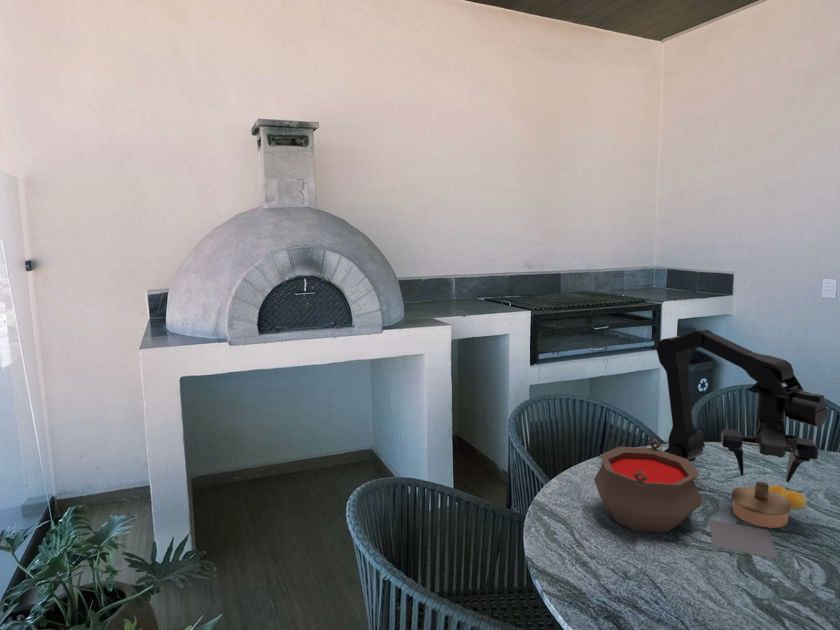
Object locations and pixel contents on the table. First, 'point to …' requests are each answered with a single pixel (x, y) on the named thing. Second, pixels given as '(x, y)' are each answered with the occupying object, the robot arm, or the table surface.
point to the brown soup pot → (647, 487)
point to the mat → (742, 539)
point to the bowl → (760, 517)
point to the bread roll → (790, 497)
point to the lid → (761, 500)
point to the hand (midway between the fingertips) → (764, 478)
